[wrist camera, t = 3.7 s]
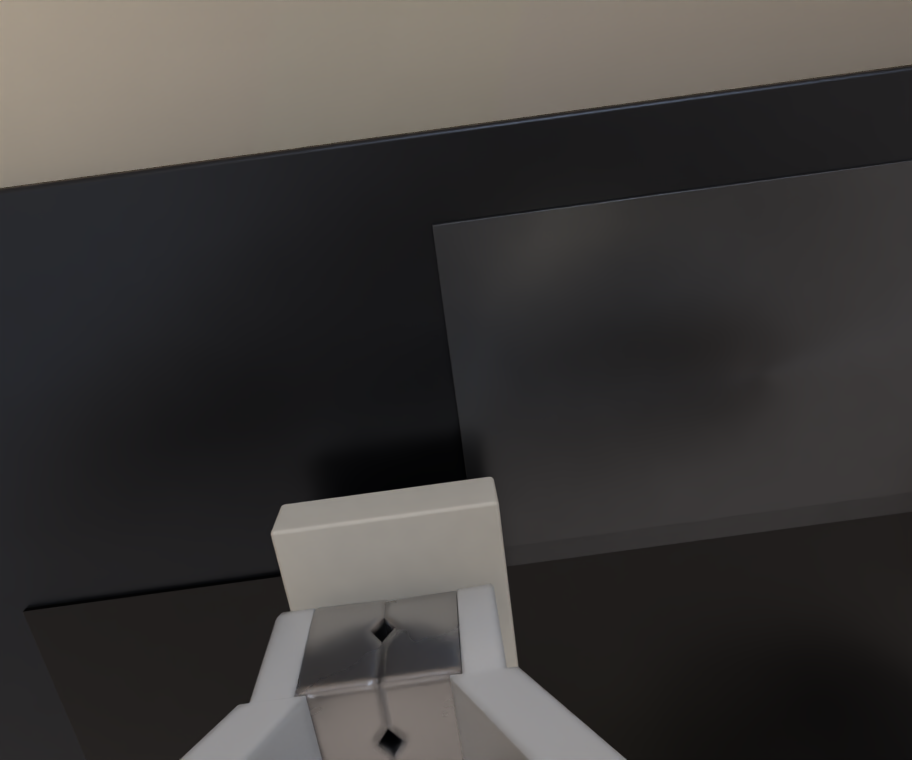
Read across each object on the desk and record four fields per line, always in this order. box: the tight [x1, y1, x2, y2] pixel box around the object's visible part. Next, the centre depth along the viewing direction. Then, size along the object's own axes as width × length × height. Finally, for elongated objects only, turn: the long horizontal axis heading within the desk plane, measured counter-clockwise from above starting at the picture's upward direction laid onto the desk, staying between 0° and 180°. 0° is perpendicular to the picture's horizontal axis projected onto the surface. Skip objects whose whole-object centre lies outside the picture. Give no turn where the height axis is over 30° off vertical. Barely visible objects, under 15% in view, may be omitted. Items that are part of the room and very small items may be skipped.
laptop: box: [0, 65, 912, 760], centre depth 13 cm, size 21×30×2 cm
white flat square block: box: [271, 477, 518, 668], centre depth 10 cm, size 3×3×1 cm
